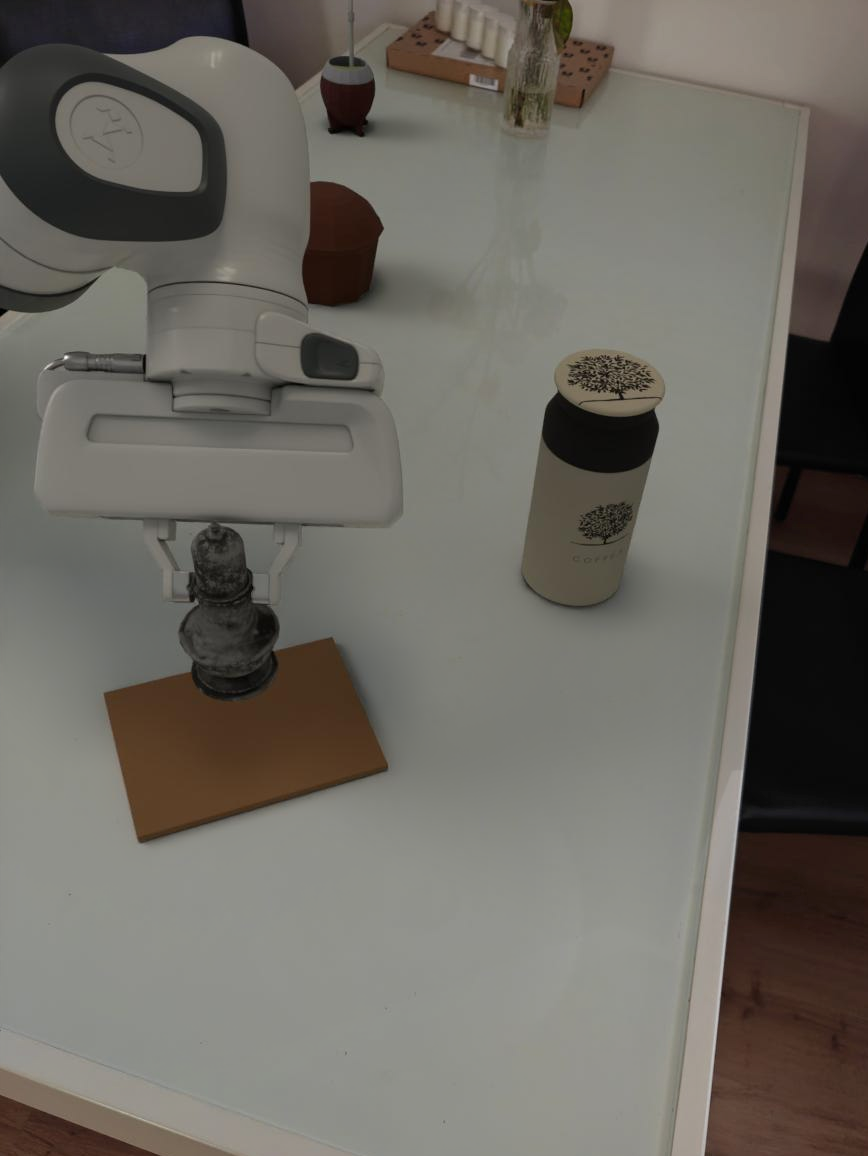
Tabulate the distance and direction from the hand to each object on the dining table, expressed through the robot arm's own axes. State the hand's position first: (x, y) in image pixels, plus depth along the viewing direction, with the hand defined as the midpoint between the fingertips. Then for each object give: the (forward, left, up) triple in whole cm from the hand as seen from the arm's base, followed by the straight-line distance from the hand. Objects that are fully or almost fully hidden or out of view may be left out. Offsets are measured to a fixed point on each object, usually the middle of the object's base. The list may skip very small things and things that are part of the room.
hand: (223, 604), depth 58 cm
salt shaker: (0, +1, -7) cm, 7 cm away
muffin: (+23, +56, -13) cm, 62 cm away
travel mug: (+28, +8, -13) cm, 32 cm away
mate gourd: (+38, +95, -13) cm, 103 cm away
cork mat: (0, +1, -13) cm, 13 cm away
